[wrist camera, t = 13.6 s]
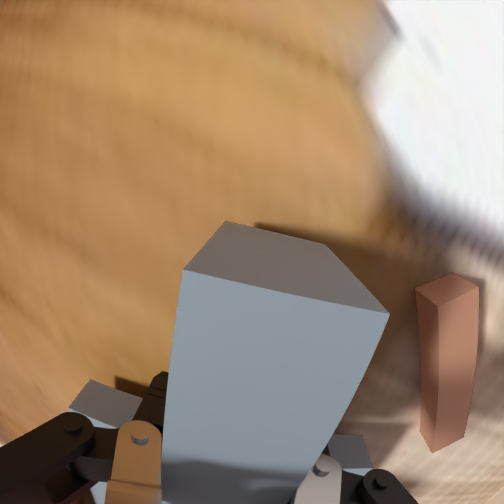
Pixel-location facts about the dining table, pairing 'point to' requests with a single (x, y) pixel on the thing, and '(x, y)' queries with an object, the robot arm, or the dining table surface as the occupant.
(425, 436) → the stick
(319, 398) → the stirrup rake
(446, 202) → the dining table surface
